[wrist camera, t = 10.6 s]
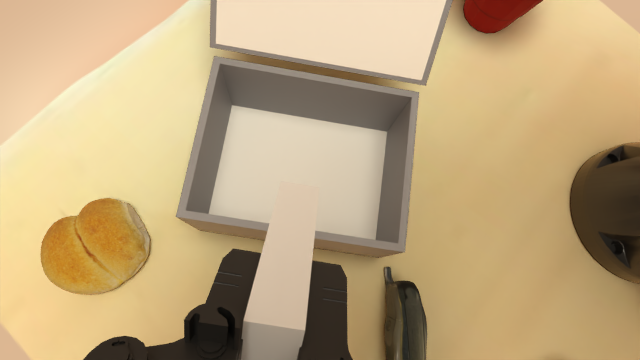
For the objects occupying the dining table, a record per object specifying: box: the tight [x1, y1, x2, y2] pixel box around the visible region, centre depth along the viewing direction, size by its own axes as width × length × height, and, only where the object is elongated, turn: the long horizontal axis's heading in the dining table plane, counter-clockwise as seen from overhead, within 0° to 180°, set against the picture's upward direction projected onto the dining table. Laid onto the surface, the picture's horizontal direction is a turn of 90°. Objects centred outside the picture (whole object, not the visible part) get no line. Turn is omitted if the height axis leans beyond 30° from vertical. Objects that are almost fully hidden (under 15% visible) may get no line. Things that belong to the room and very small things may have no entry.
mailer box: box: [176, 56, 419, 258], centre depth 37 cm, size 18×14×9 cm
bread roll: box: [41, 198, 150, 295], centre depth 36 cm, size 8×9×4 cm
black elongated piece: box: [384, 267, 427, 360], centre depth 36 cm, size 5×3×15 cm
